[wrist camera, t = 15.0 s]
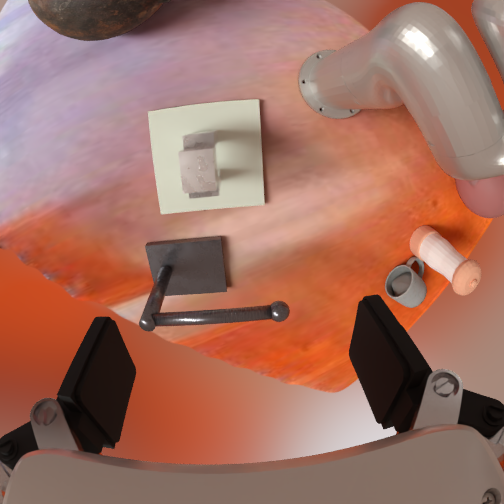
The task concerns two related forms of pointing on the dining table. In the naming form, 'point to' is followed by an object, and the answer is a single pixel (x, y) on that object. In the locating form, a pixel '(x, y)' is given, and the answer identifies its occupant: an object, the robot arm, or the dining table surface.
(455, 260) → the salt shaker
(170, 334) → the dining table surface
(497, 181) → the balloon
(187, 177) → the stepped metal block
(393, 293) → the ceramic mug
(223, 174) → the mat
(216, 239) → the stand
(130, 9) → the jug
